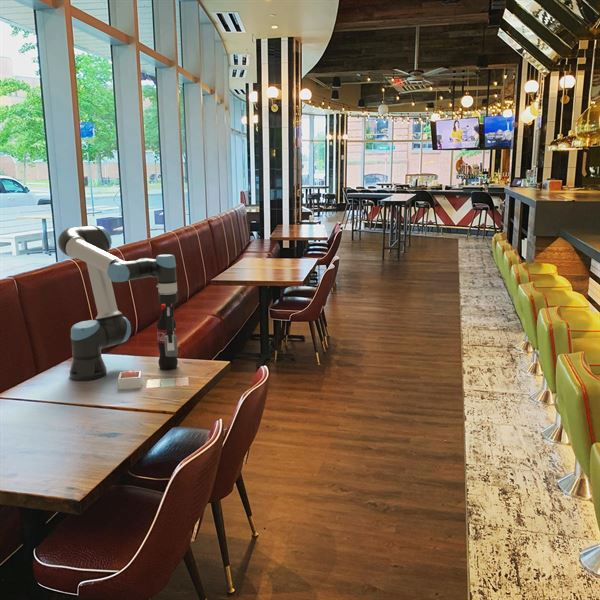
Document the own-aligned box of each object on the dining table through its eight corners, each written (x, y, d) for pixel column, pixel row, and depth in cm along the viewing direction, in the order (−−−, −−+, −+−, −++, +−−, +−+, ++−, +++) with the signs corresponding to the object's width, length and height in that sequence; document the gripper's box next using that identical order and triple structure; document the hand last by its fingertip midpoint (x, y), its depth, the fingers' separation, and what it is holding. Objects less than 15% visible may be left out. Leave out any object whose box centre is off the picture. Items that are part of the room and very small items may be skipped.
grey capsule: (165, 353, 237) (164, 335, 236) (177, 352, 238) (176, 334, 237) (165, 357, 232) (163, 338, 231) (177, 356, 233) (176, 337, 232)
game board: (121, 382, 240) (120, 370, 239) (189, 377, 246) (188, 366, 245) (118, 392, 228) (117, 380, 227) (190, 387, 234) (189, 375, 233)
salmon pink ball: (123, 383, 237) (122, 368, 236) (139, 382, 239) (138, 367, 237) (121, 388, 231) (120, 373, 230) (138, 387, 233) (137, 372, 231)
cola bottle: (160, 366, 261) (157, 302, 255) (178, 365, 262) (176, 301, 256) (157, 372, 253) (154, 306, 247) (176, 371, 254) (174, 305, 248)
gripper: (159, 289, 238) (163, 343, 243) (157, 297, 221) (160, 355, 225) (177, 288, 240) (180, 342, 244) (176, 296, 222) (180, 353, 227)
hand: (171, 348), depth 235 cm, fingers closed on grey capsule, 5 cm apart
